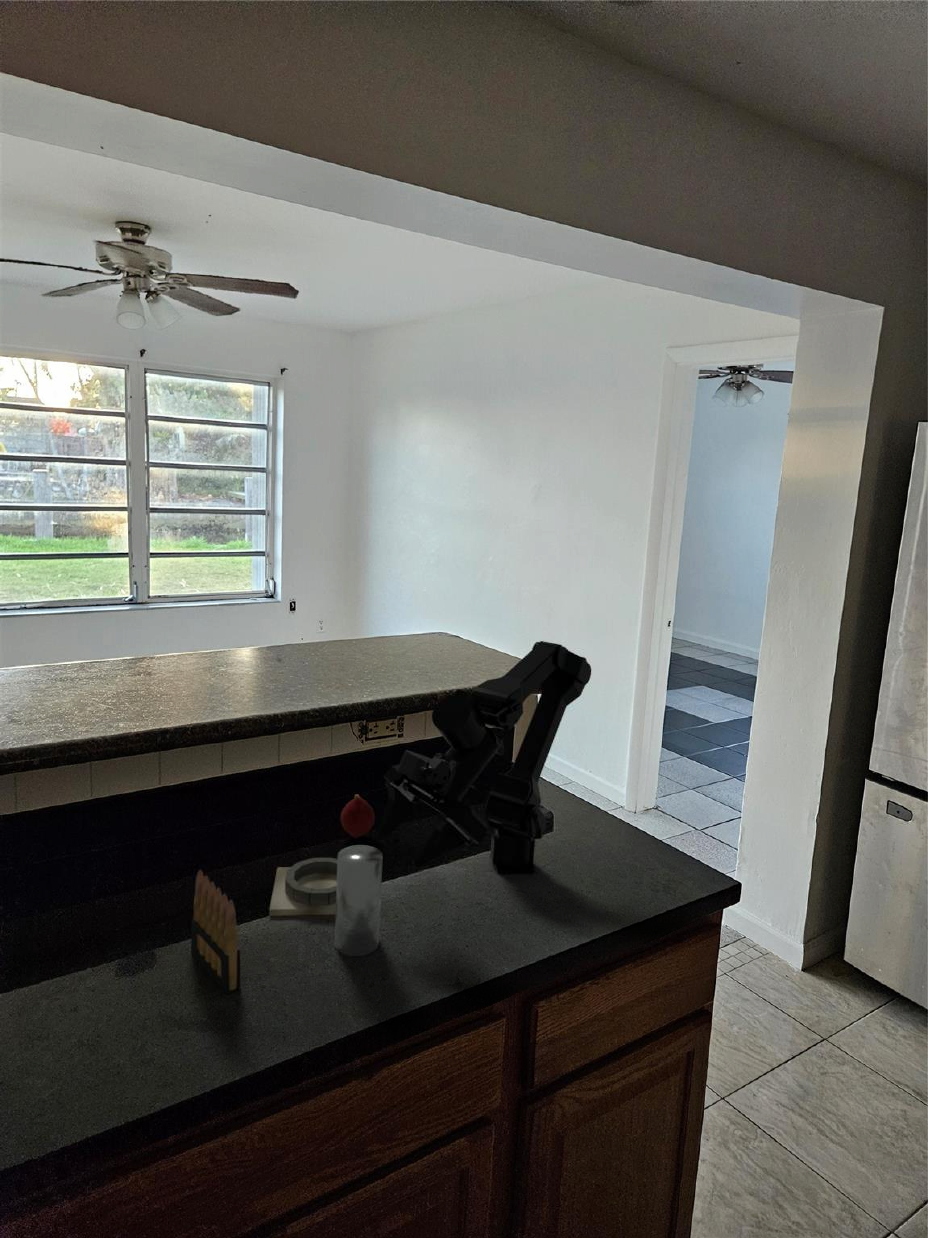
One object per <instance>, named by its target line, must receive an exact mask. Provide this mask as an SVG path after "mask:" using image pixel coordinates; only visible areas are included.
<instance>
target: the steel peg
mask: <svg viewBox="0 0 928 1238" xmlns="http://www.w3.org/2000/svg"><path fill="white" fill-rule="evenodd" d="M383 856H384V855H383V852H382V851H381V850H380V849H378V848H377V847H374V846H370V845H368V844H367V845H366V844H356V845H355V844H354V845H350V846H347V847H344V848H342V849H341V850H339V852H338V853H337V858H336V859H337V891H336V915H335V923H334V926H335V928H334V929H335V931H334V932H335V933H334V947H335V949H336V950H337V951H338V952H339V953H340V954H343V955H345V956H350V957H364V956H367V955H370V954H372V953H374V952H375V950H377V949H378V947H379V945H380V928H381V927H380V925H381V924H380V922H381V903H382V902H381V900H382V897H381V896H382V878H383V877H382V876H383V859H384V858H383Z"/></svg>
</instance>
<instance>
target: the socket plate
mask: <svg viewBox="0 0 928 1238" xmlns="http://www.w3.org/2000/svg"><path fill="white" fill-rule="evenodd" d="M337 859H338V858H334V857H311V858H308V859H305V860H302V861H297V862H296V863H295V864H293V865H292V866H291V867H289V866H287V867H286V866H284V867H281V866H280V867H277V869H276V873H275V880H274V884H273V888H272V889H273V890H272V893H271V894H272V895H271V899H270V904H269V910H268V911H269V914H268V915H269V917H278V916H279V917H281V916H283V917H285V916H322V915H325V916H328V915H331V916H333V915H334V916H336V891H337Z"/></svg>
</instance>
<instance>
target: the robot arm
mask: <svg viewBox="0 0 928 1238" xmlns="http://www.w3.org/2000/svg"><path fill="white" fill-rule="evenodd" d="M591 676H592V667H591V665H590V664H589V662H588V660H587V658H586V657H584V656H581V655H578V654H576V653H574V652H572V651H570V650H569V649H568V648H566V646H563V645H562V644H560V643H559V644H558V643H553V642H548V641H543V640H540V641H536V642H535V643H533V646H532V648H531V650H530V652H528V653H527V654H525V656H524V657H522V659H521V660H519V661H518V662H517V663H516V664H515V665H514V666H513V667H512V668H511V669H510V670H509V671H508V672H506V673H505V674H504V675H502V676H501V677H496V678H491V679H486V680H485V681H484V682H481V683H480V684H478V685H476V687H474V688H473V690H472V691H471V692H470V691H469V690H466V689H461V688H456V691H455V693H454V695H449V696H446V697H445V698H443V699H441V700H440V701H439V702H438V703H437V704H436V705H434V708H433V710H432V712H431V713H432V714H431V720H432V723H433V725H434V726H435V728H436V729H437V730H438V732H439V733H440V734H441V735H442V737H443V738H444V739H445V741H446V742H447V744H449V746H450V748H449V749H448V750H447V751H446V752H445V753H443V752H440V751H439V752H437V753H435V754H434V756H433V757H432V758H431V757H427V756H426V755H423V754H420V753H416V752H415V751H410V750H407V749H406V750H405V751H404V753H403V755H402V758H401V760H400V763H399V764H395V765H391V766H390V767H389V768H388V770H387V771H386V772H385V774H384V775H383V778H384V779H386V781H385V787H387V790H388V801H387V806H386V808H385V811H384V814H383V817H382V820H381V821H380V825H379V828H378V831H377V834H376V837H377V838H378V839H379V840H380V841H383V840H384V839H387V837H388V836H390V835H391V834H392V833H393V832H394V831H395V830H396V829H397V828H399V827H400V826H401V825H402V824H404V822H405V821H407V819H408V818H410V817H411V816H412V815H413V814H414V813H415V812H416V811H417V810H418V809H419V807H418V806H417V805H415V804H419V803H422V802H423V803H425V804H426V805H428V806H429V807H431V808H432V809H434V810H436V811H438V812H439V813H440V814H442V815H444V816H445V817H446V818H445V817H443V816H442V815H439V814H438V813H437V814H436V819H435V827H434V829H433V831H432V833H431V834H430V835H429V837H428V838H427V840H426V841H425V843H424V844H423V845H422V847H421V848H420V850H419V851H418V853H417V854H416V857H415V858H414V860H413V862H412V864H413V865H414V867H416V868H418V869H419V868H421V867H423V866H425V865H427V864H428V863H429V862H431V861H434V860H435V859H437V858H439V857H440V856H442V855H445V854H447V853H448V852H451V851H454V850H455V849H458V848H460V847H462V846H464V845H467V846H470V845H472V842H475V843H476V844H478V845H480V844H481V842H482V841H483V840H484V839H485V837H486V836H487V833H488V828H490V829H494V832H495V833H493V834H492V835H491V840H490V853H489V854H490V855H489V857H490V859H491V864H493V865H494V867H495V871H496V872H497V873H498V874H515V873H517V874H522V873H523V874H524V873H525V874H527V873H528V874H529V873H530V874H532V873H536V870H537V869H536V867H535V864H534V859H535V858H534V856H535V847H536V846H535V845H536V840H540V839H542V838H543V835H544V832H545V830H546V824H547V818H546V817H545V815H544V814H543V812H542V811H541V808H540V806H541V804H542V797H541V793H540V788H539V780H540V778H541V774H542V772H543V769H544V767H545V764H546V763H547V762H546V761H547V759H548V756H549V754H550V751H551V748H552V745H553V743H554V741H555V738H556V735H557V733H558V730H559V728H560V725H561V722H562V720H563V717H564V714H565V711H566V708H567V707H568V706H569V705H570V704H571V703H573V702H574V701H575V700H577V699H578V698H580V697H581V695H582V693H583V692H584V689H585V687H586V685H588V683H589V682H590V679H591ZM538 687H539V688H540V692H541V693H540V696H539V699H538V701H537V704H536V707H535V709H534V710H533V713H532V714H533V715H532V716H531V719H530V722H529V724H528V727H527V729H526V732H525V734H524V736H523V739H522V742H521V744H520V747H519V749H518V752H517V755H516V757H515V759H514V761H513V764H512V767H511V769H510V770H509V771H507V772H506V773H504V774H503V773H500V772H499V773H498V774H497V775H496V776H495V778H494V781H493V784H492V786H491V789H490V790H489V792H488V794H487V796H486V798H485V802H484V805H483V806H484V813H485V820H484V819H482V818H481V816H480V815H478V813H477V812H476V811H475V810H474V809H473V808H471V807H470V806H468V805H467V804H465V803H463V802H461V800H462V799H463V798H464V796H465V795H466V794H467V792H468V791H469V789H471V788H472V789H475V790H477V789H478V787H479V786H480V785H481V783H480V782H479V781H478V780H477V779H478V778H479V776H480V775H481V774H482V772H483V771H484V770H485V768H486V767H487V766H488V765H489V762H490V761H491V760H492V759H493V757H495V755H496V754H497V755H499V756H500V757H501V756H503V755H504V752H505V747H504V740H505V739H504V737H503V736H502V735H500V734H498V733H496V732H494V731H493V730H492V729H491V728H490V727H492V728H496V729H500V730H505V731H510V730H511V729H512V728H513V727H515V726H516V724H517V723H518V722H519V720H520V719H521V717H522V716H523V714H524V702H525V701H526V700H527V698H528V697H530V696H531V694H532V693H533V692H534V691H535V690H536V689H537V688H538ZM440 803H441V804H440Z"/></svg>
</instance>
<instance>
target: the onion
mask: <svg viewBox="0 0 928 1238" xmlns="http://www.w3.org/2000/svg"><path fill="white" fill-rule="evenodd" d="M375 818H376V817H375V813H374V809H373V808H372V805H370V804H369V803H368V802H367V801H366V800H365V799H363V798H362V797H361V796H360V795H359V794H357V793H356V794H354V799H352V800H350V801H348V803H346V804H345V806H344V807H343V809H342V810H341V814H340V823H341V826H342V827H343V830H345V831H346V832H347V833H348V834H349V835H350V836H351V837H353V838H355V839H359V838H360V837H362V836H364V835H365V834H368V832H370V830H371V829H372V827H373V825H374V823H375V820H376V819H375Z"/></svg>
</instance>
